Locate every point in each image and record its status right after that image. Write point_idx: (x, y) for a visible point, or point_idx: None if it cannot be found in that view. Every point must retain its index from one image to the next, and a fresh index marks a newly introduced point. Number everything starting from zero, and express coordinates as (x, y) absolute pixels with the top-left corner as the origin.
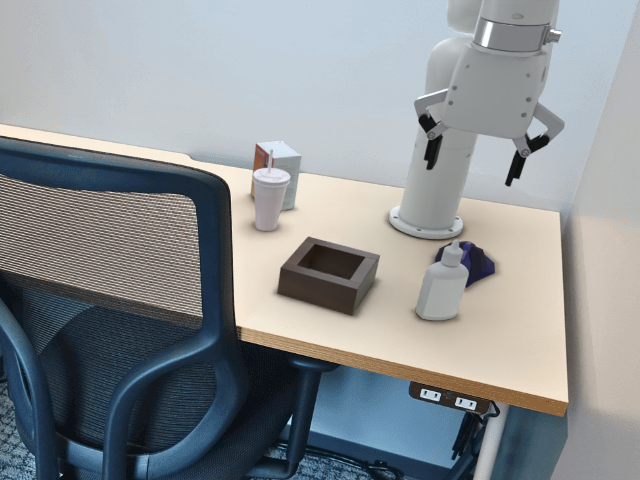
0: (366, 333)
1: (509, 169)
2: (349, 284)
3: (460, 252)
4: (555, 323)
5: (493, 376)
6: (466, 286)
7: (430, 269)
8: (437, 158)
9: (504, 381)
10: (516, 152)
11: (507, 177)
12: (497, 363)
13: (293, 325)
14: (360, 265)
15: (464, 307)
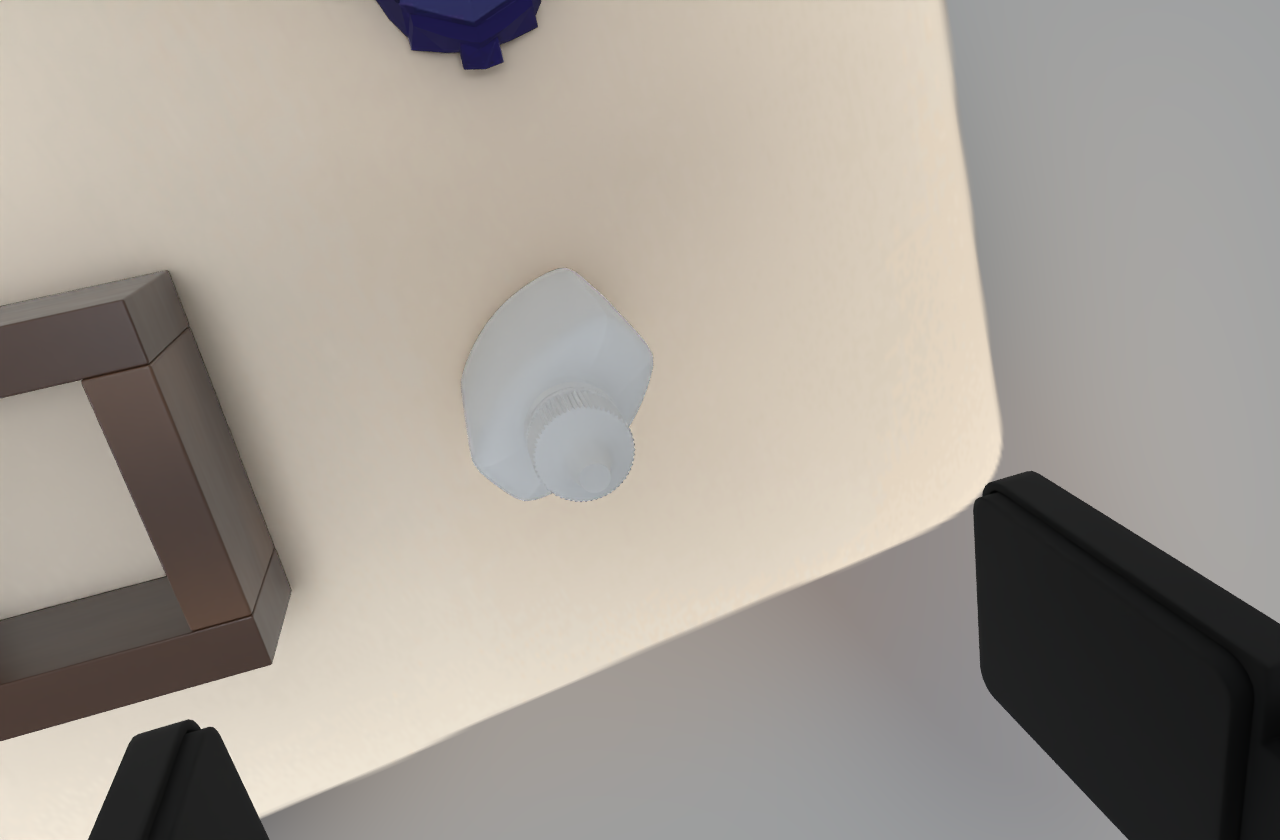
0: (403, 640)
1: (1091, 799)
2: (217, 660)
3: (627, 462)
4: (930, 46)
5: (826, 538)
6: (538, 5)
7: (501, 485)
8: (199, 756)
9: (858, 536)
10: (1235, 786)
11: (1036, 734)
12: (818, 467)
13: None
14: (129, 480)
15: (602, 195)
